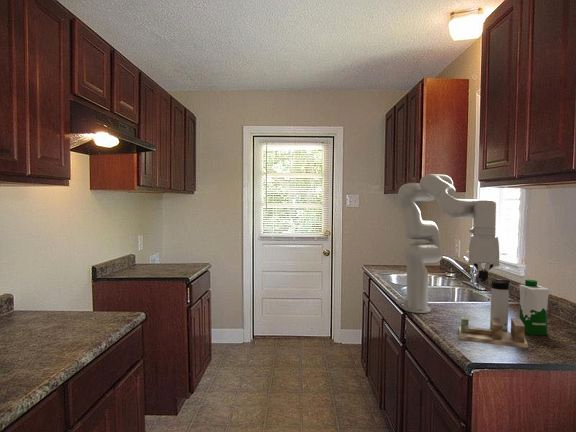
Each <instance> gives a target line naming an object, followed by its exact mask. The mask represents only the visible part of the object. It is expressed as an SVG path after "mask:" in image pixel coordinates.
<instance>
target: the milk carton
mask: <svg viewBox="0 0 576 432" xmlns="http://www.w3.org/2000/svg"><path fill="white" fill-rule="evenodd" d="M524 283H525V284H519V285H518V286H519V318H518V319H521V321H522V323H523V324H524V326H525V334H527V335H531V336H535V335H536V336H542V335H543V336H548V303H549V302H548V299H549V295H550V292H551V289H550V288H547V287H546V286H541V285H538V280H534V279H525V281H524Z"/></svg>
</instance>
